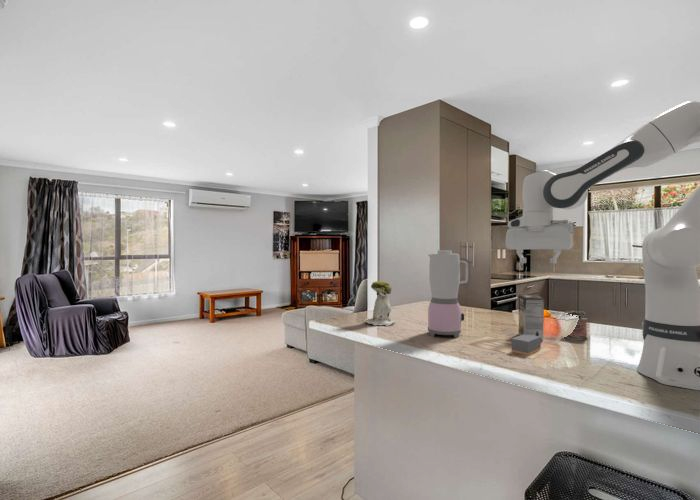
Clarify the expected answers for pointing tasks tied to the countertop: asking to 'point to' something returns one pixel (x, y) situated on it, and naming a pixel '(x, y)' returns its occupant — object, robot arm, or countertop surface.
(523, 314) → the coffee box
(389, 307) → the stone planter with plant
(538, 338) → the block
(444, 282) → the blender
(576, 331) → the maroon upright canister
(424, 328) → the countertop surface
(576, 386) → the countertop surface
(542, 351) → the oak board
